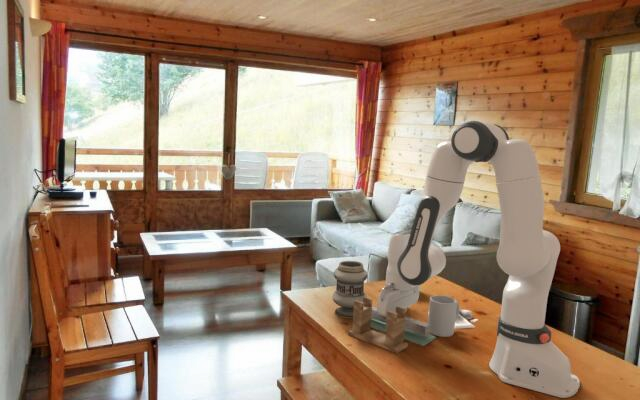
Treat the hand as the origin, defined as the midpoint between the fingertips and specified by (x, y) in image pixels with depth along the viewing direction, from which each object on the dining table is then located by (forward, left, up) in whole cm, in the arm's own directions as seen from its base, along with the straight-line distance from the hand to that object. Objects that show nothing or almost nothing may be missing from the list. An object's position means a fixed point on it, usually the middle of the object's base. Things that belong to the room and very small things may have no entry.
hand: (396, 322), depth 158 cm
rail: (0, 0, -1) cm, 1 cm away
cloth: (-8, -27, -4) cm, 29 cm away
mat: (0, 0, -3) cm, 3 cm away
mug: (-11, -12, -3) cm, 17 cm away
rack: (0, +11, -3) cm, 11 cm away
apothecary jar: (+20, -1, -3) cm, 20 cm away
